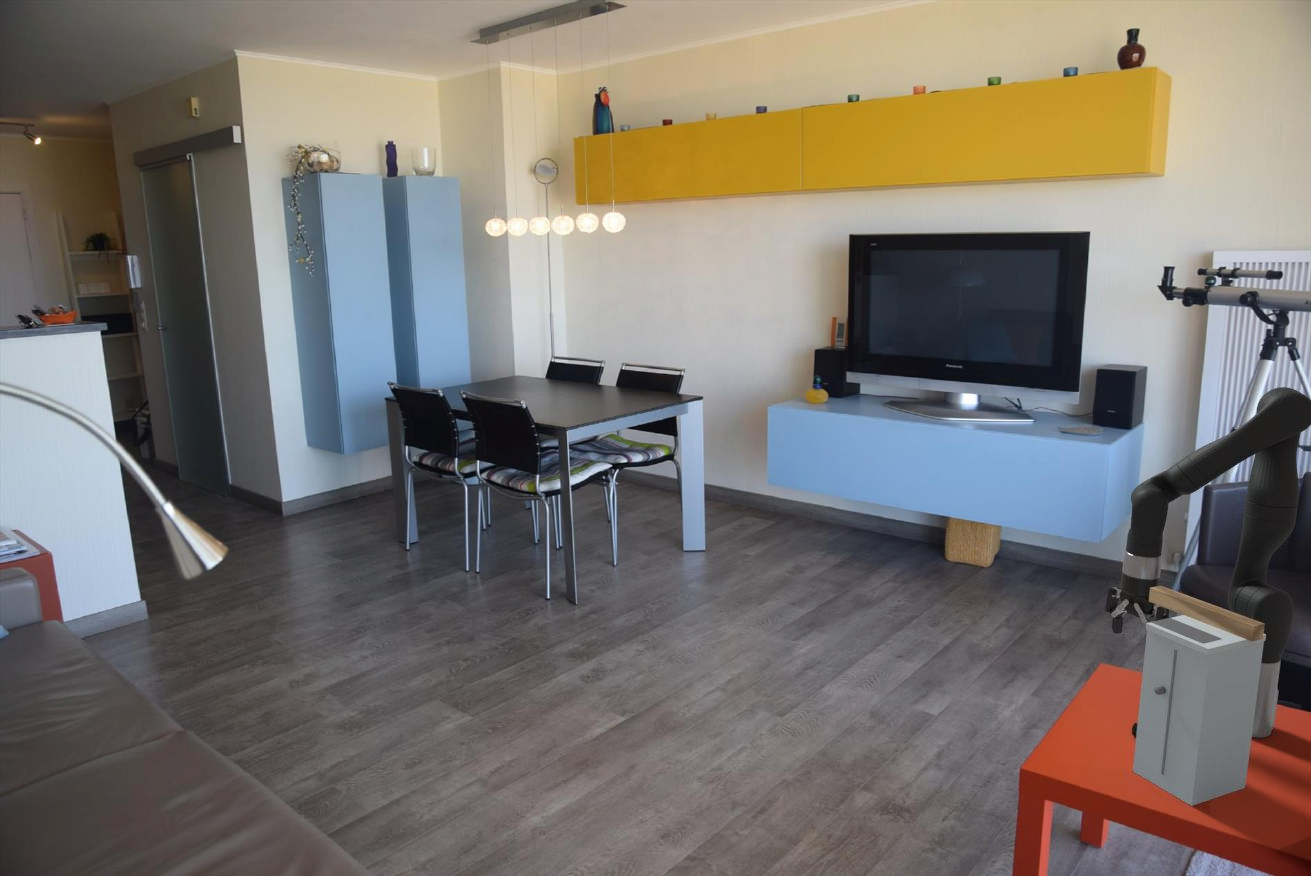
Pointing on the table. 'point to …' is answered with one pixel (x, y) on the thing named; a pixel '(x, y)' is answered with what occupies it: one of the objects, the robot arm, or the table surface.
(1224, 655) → the light grey cabinet
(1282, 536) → the robot arm
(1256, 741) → the table surface
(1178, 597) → the oak batten
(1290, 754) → the table surface
